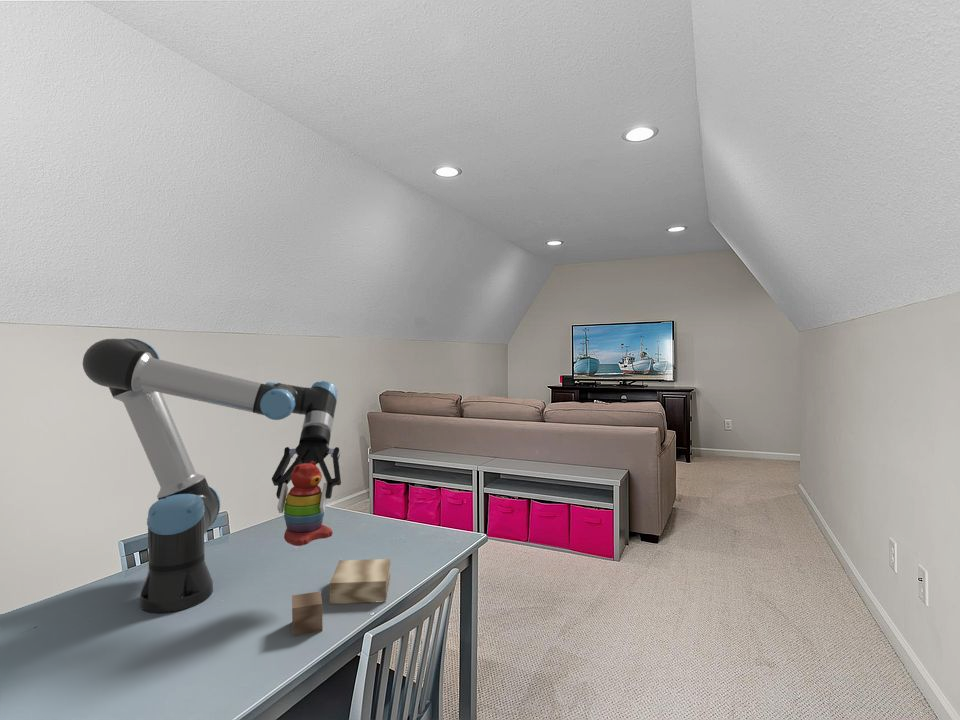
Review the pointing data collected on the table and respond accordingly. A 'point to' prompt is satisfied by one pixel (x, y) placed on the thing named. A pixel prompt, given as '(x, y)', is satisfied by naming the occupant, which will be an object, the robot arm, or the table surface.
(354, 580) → the maple block
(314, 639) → the table surface
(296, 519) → the stacking bear
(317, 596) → the walnut cube
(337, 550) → the table surface
